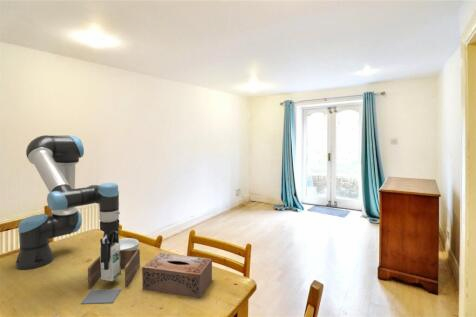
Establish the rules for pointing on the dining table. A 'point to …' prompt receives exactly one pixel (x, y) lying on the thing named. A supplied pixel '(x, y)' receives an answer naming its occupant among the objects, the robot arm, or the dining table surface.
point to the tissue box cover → (177, 275)
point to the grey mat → (101, 296)
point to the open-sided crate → (128, 261)
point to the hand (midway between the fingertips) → (111, 271)
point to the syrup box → (113, 263)
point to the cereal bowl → (128, 244)
